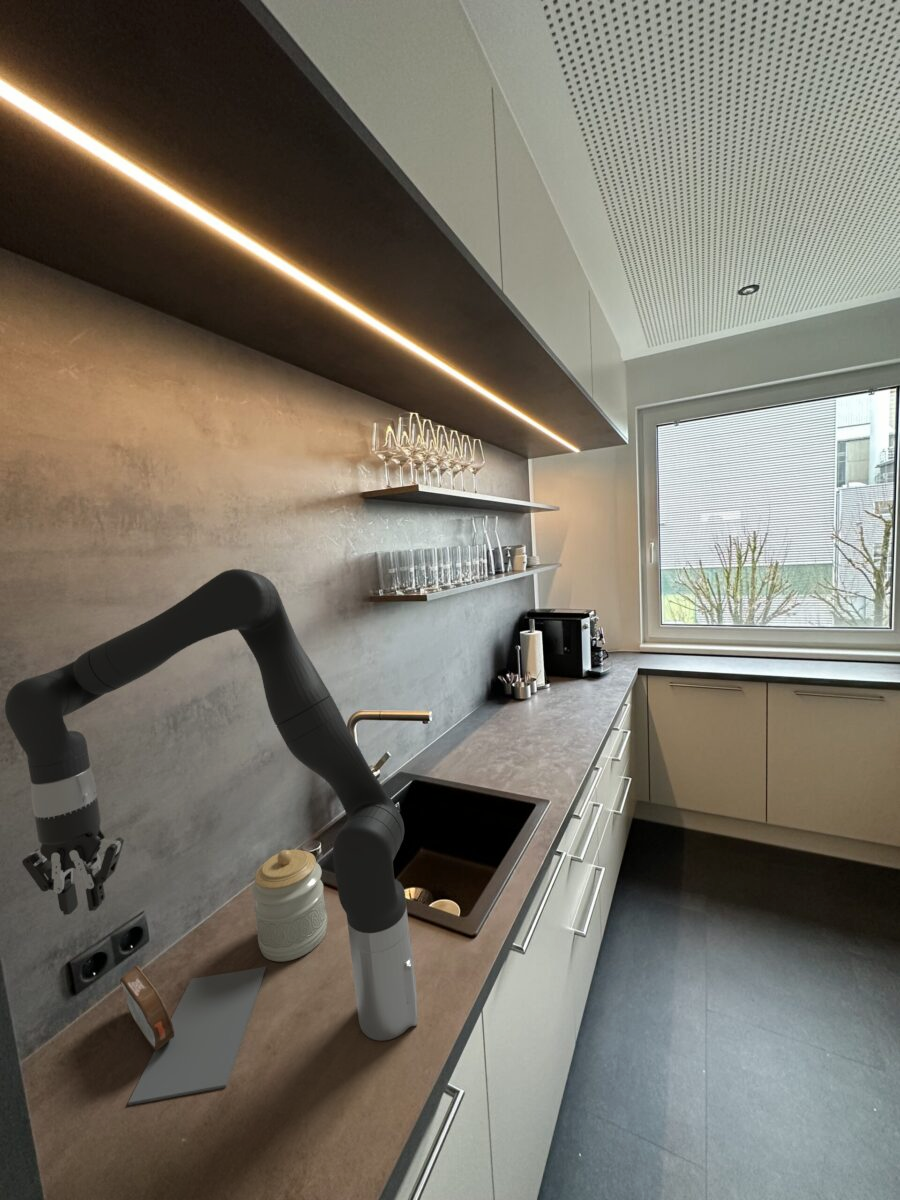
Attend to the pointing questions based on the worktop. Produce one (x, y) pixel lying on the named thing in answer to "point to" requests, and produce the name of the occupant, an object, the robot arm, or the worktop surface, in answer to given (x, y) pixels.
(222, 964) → the worktop surface
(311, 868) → the jar
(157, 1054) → the mat
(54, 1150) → the worktop surface
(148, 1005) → the tin
